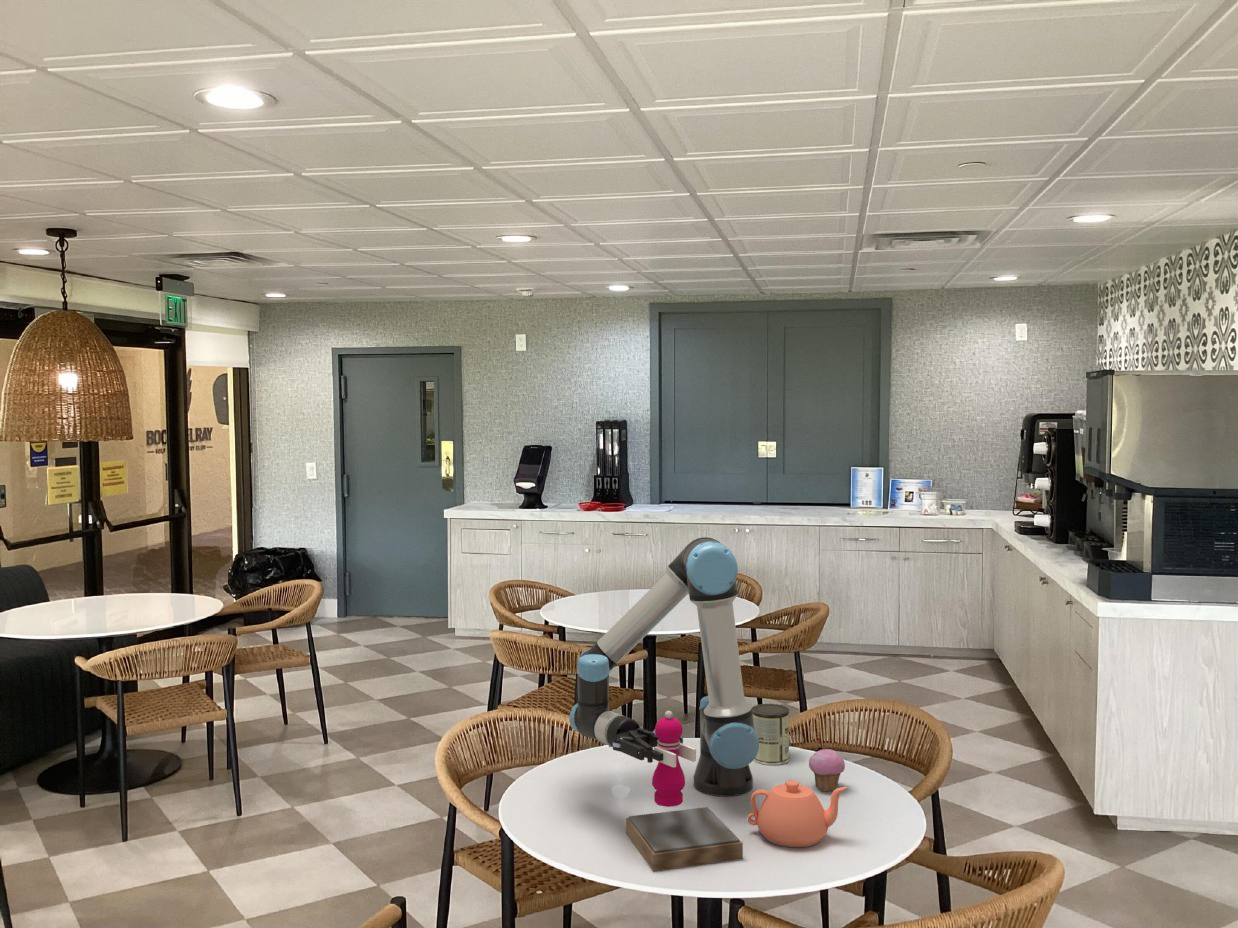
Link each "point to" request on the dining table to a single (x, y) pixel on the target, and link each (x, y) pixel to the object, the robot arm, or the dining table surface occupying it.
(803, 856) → the dining table surface
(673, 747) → the pepper mill
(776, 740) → the coffee can
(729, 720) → the robot arm
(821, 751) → the cupcake
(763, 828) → the teapot
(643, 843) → the walnut stand
